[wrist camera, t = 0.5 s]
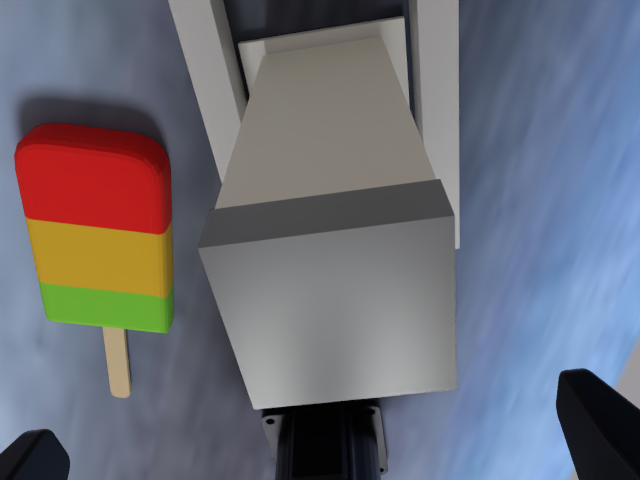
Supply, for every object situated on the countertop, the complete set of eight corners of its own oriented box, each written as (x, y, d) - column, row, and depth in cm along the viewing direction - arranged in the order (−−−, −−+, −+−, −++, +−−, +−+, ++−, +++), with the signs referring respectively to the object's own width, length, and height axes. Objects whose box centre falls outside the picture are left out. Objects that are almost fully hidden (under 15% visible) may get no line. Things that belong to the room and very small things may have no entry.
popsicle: (173, 132, 20) (160, 153, 19) (178, 386, 29) (169, 416, 27) (26, 112, 20) (0, 132, 18) (75, 376, 29) (60, 405, 27)
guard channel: (449, 220, 22) (459, 248, 21) (253, 245, 23) (248, 274, 21) (440, -314, 13) (457, -340, 12) (118, -245, 14) (91, -261, 12)
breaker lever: (392, 148, 20) (456, 389, 10) (284, 163, 20) (254, 409, 11) (383, 34, 17) (454, 216, 8) (260, 54, 18) (197, 248, 9)
